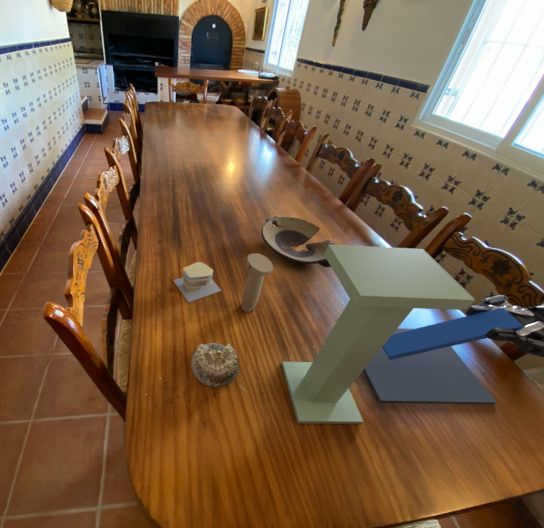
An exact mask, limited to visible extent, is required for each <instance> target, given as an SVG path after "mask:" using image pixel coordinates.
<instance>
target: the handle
mask: <svg viewBox="0 0 544 528" xmlns="http://www.w3.org/2000/svg"><path fill="white" fill-rule="evenodd" d="M246 265H247V268H248V270H249V273H248V276H247V279H246V281H245V285H244V287H243V291H242V296H241V310H242V311H244V312H246V313H251V312H253V311H254V310H255V307H256V305H257V304H258V302H259V299H260V295H261V291H262V288H263V282H264V278H265V276H269V275H271V274H272V273H273V270H274V266H273V263H272V262H271V260H270V259H269V258H268V257H267V256H265V255H263V254H261V253H258V252H256V253H250V254H248V255H247V257H246Z"/></svg>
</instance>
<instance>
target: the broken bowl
mask: <svg viewBox="0 0 544 528" xmlns="http://www.w3.org/2000/svg"><path fill="white" fill-rule="evenodd" d="M273 225H274V226H273ZM320 230H321V228H320V226H317V225H316V224H315V223H313V222H310V221H308V220H307V219H303V218H298V217H291V216H277V215H275V216H273V217H272V218H266V219H265V222H264V223H263V225H262V226H261V231H260V235H261V238H262V240H263V242H264V244H265V245H266V246H267V247H268V248H269V249H270V250H271V251H272V252H273V253H274V254H276V255H278V256H280V257H281V258H283V259H284V260H285V259H286V260H288V261H291V262H294V263H299V264H304V265H305V264H306V265H310V264H311V265H316V264H318V265H320V266H322V267H323V268H332V267H331V265H330V264H329V262H328V260H327V259H326V257H325V255H324V254H325V251H326V249H327V247H328V245H335V243H334V242H332V241H331V240H329V239H327V240H323V241H318V242H311V243H308V242H309V241H310V240H311V239H312V238H313V237H315V236H316V234H318V232H319V231H320ZM302 245H305V247H306V249H307V250H303V249H302V248H300V249H302V250H299V251H298V250H297V249H295V248H293V247H298V246H302Z"/></svg>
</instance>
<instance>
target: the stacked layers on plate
mask: <svg viewBox="0 0 544 528" xmlns="http://www.w3.org/2000/svg"><path fill="white" fill-rule="evenodd" d="M182 270H183V271H182V275H183V276H182V277H179V278H176V279H173V280H172V281H173V283H174V284H175V286H176V287H177V288H178V290H179V291H180V293H181V294H182V295H183V298H184V299H185V300H186V301H187V302H188V303H192V302H194V301H197V300H199V299H203V298H205V297H208V296H211V295H214V294H217V293H219V292H221V291H222V289H221V288H220V287H219V286H218V284H216V282H215V281H214V280H213V276H214V269H213V268H211V267H210V266H209V265H207V264H205V263H204V262H201V261H196V262H194V263H192V264H189V265H187V266H185V267H183V268H182Z"/></svg>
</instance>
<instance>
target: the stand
mask: <svg viewBox="0 0 544 528" xmlns="http://www.w3.org/2000/svg"><path fill="white" fill-rule="evenodd" d="M324 255H325V257H326V259H327V260H328V262H329V264H330V265H331V267H330V268H331V269H332V270H333V272H334V274H335V276H336V277H337V279H338V281H339V282H340V284H341V286H342V288H343V289H344V291H345V292H346V295H347V296H348V298H349V300H348V302H347V303H346V305H345V307H344V308H343V311H342V312H341V313H340V315H339V318H338V319H337V320H336V323H335V324H334V326H333V327H332V329H331V331H330V332H329V334H328V336H327V337H326V339H325V341H324V342H323V344H322V346H321V347H320V349H319V351H318V353H317V354H316V356H315V358H314V359H313V361H281V368H282V372H283V375H284V379H285V383H286V386H287V390H288V393H289V397H290V400H291V405H292V408H293V411H294V415H295V418H296V422H297V424H313V425H314V424H321V425H323V424H326V425H362V424H363V423H364V420H363V417H362V415H361V412H360V411H359V409H358V406H357V403H356V401H355V399H354V397H353V395H352V392H351V390H350V387H352V386H353V384H354V382H356V380H357V379H358V378H359V376H360V375H361V374H362V372H364V369H365V368H366V366H367V365H368V364H369V363H370V361H371V360H372V359H373V358H374V356H375V355H376V354H377V353H378V352H379V350H380V349H381V348H382V347H383V345H384V344H385V343H386V342H387V340H388V339H389V338H390V337H391V336H392V334H393V333H394V332H395V331H396V329H397V328H399V327H400V326H401V324H402V323H403V322H404V321H405V320H406V318H407V317H408V316H409V315H410V314H411V312H412V311H413V310H414V309H423V310H424V309H425V310H452V311H453V310H454V311H455V310H456V311H467V310H468V309H469V308H470V307H471V306H472V304H473V303H474V302H475V301H476V299H475V297H473V296H472V295H471V294H470V293H469V292H468V291H467V289H465V288H464V287H463V286H462V285H461V284H460V283H459V282H458V281H457V280H455V278H454V277H453V276H451V274H449V273H448V272H447V270H445V269H444V268H443V267H442V266H441V265H440V264H439V263H438V262H437V261H436V260H435V259H434V258H433V257H432V256H431V255H430V254H429V253H428V252H426V250H425V249H424V248H410V247H390V246H389V247H387V246H366V245H345V244H334V245H328V247H327V249H326V251H325V254H324Z"/></svg>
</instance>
